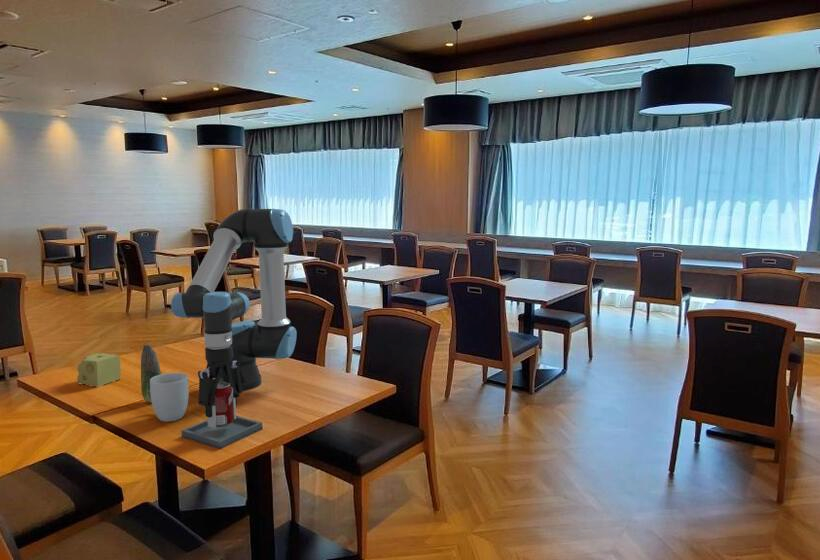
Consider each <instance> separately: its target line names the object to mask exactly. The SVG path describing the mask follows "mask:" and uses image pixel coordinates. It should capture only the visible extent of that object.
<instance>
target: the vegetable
mask: <svg viewBox="0 0 820 560" xmlns="http://www.w3.org/2000/svg"><path fill="white" fill-rule="evenodd" d="M160 366H161V365H160V361H159V358H158V355H157V352H156V351H155V350H154V349H153V348H152V346H151V345H150V344H144V345H143V346H142V351H141V355H140V383H141V385H140V386H141V396H142V399H143V400H144V401H145V402H147V403H151V404H152V401H151V394H150V379H151V378H152V377H154V376H157V375H161V374H162V373H161V372H162V371H161V367H160Z"/></svg>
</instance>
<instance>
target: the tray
mask: <svg viewBox="0 0 820 560" xmlns="http://www.w3.org/2000/svg"><path fill="white" fill-rule="evenodd" d="M262 430H263V422H261V421H257V420H254V419H251V418H246V417H243V416H239V415H236V419H234V422H233V423H231V424H230V425H228V426H225V427H216V428H212V427H209V426H208V420H207V419H205V420H203V421H201V422H198V423H196V424H193V425H190V426H188V427H185V428H184V429H181V431H180V432H181V438H185V439H188V440H190V441H194V442H197V443H200V444H203V445H206V446H208V447H209V446H210V447H212V448H215V449H219V450H222V449H223V448H226V447H228V446H230V445H232V444H234V443H237V442H239V441H240V440H242V439H245V438H247V437H249V436H250V435H253V434H255V433H257V432H259V431H262Z"/></svg>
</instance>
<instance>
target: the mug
mask: <svg viewBox="0 0 820 560" xmlns="http://www.w3.org/2000/svg"><path fill="white" fill-rule="evenodd" d="M189 387H190V386H189V376H188V374H186V373H183V372H167V373H161V375H157V376H154V377H152V378H151V379H150V394H151V401H152V402H151V406H152V408H153V412H154V414H155V416H156V418H158V420H160V421H161V422H166V423H167V422H168V423H169V422H176V421H178V420H181V419H183V417H184V415H185V413H186V412H187V407H188V403H189V399H190V398H189V390H190V389H189Z"/></svg>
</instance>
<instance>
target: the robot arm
mask: <svg viewBox="0 0 820 560" xmlns="http://www.w3.org/2000/svg"><path fill="white" fill-rule="evenodd" d="M293 237H294V226H293V221H292V219H291V217H290V215H289V213H288V212H287V211H286V210H284V209H280V208H242V209H239V210H236V211H234V212H232V213H231V214H229V215H227V217H225V218H224V219H223V220H222V221H221V222H220V223H219V224H218V226H217V227H216V228H215V231H214V232H213V241H212V243H211V245H210V247H209V248H208V250H207V252H206V254H205V256H204V257H203V259H202V261H201V263H200V265H199V267H198V268H197V270H196V272H195V274H194V276H193V278H192V280H191V281H190V284H189V285H188V287H187V289H186V290H185V292H183V291H182V292H177V293H176V294H174V295H173V296H172V298H171V303H170V308H171V311H172V313H173V315H174V316H175V317H179V318H187V319H190V318H191V319H193V318H194V319H203V327H204V328H203V329H204V333H203V334H204V335H203V336H204V337H203V338H204V346H205V348H204V353H205V354H204V355H205V360H206V366H205V369H203V370H198V372H197V376H198V381H199V382H198V383H199V384H198V405H199V406H202V407H204V409H205V412H204V413H205V417H206V418H207V419H206V420H208V426H209V427H212V428H216V409H215V405H213V402H214V397H215V393H216V389H217V384H218V383H219V382H223V381H224V382H226V383H230V386H231V387H232V388H233V403H234V419H236V416H237V407H238V398H239V397H240V396H241V395H240V394H241V393H242V392H243V391H244V390H250V389H253V388H257V387H259V386H260V385H261V384H262V375H261V374H260V370H259V367H258V363H257V361H256V360H257V359H271V360H272V359H276V360H281V359H283V360H284V359H288V358H290V357H291V356H292V354H293V353H294V350H295V348H296V347H295V346H296V342H297V333H298V332H297V329H296V328H295V327H294V326H291V320H290V319H289V318H288V317H287V310H286V308H287V307H286V306H287V305H286V284H285V283H286V281H285V278H286V277H285V254H284V253H285V250H287V249H288V247H289V246H288V245H289V243H291V242H292V241H293V239H294V238H293ZM246 242H249V243H252V242H253V248H254V249H255V250H256V251H257V253H258V260H259V261H258V264H259V265H258V266H259V284H260V285H259V287H260V288H259V289H260V307H261V308H260V311H261V312H260V313H261V314H260V315H261V318H260V320H259V321H258V322H257V325H256V323H255V321H252V320H243V321H236V322H233V323H232V321H234V320H236V319H239V318H242V317H243V316H244V315H245V314H247V313H248V311H249V309H250V308H251V307H250V306H251V304H250V303H251V301H250V299H249V297H248V296H247V295H246V294H244V293H242V292H239V291H237V292H230V293H229V292H227V291H215V290H216V289H217V287H218V284H219V283H220V282H221V279H222V276H223V274H224V272H225V271H226V268H227V267H228V264H229V262H230V260H231V259H232V257H233V254H234V252H235V250H238V249H239V248H240V247H241V245H242V244H243V243H246Z"/></svg>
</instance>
